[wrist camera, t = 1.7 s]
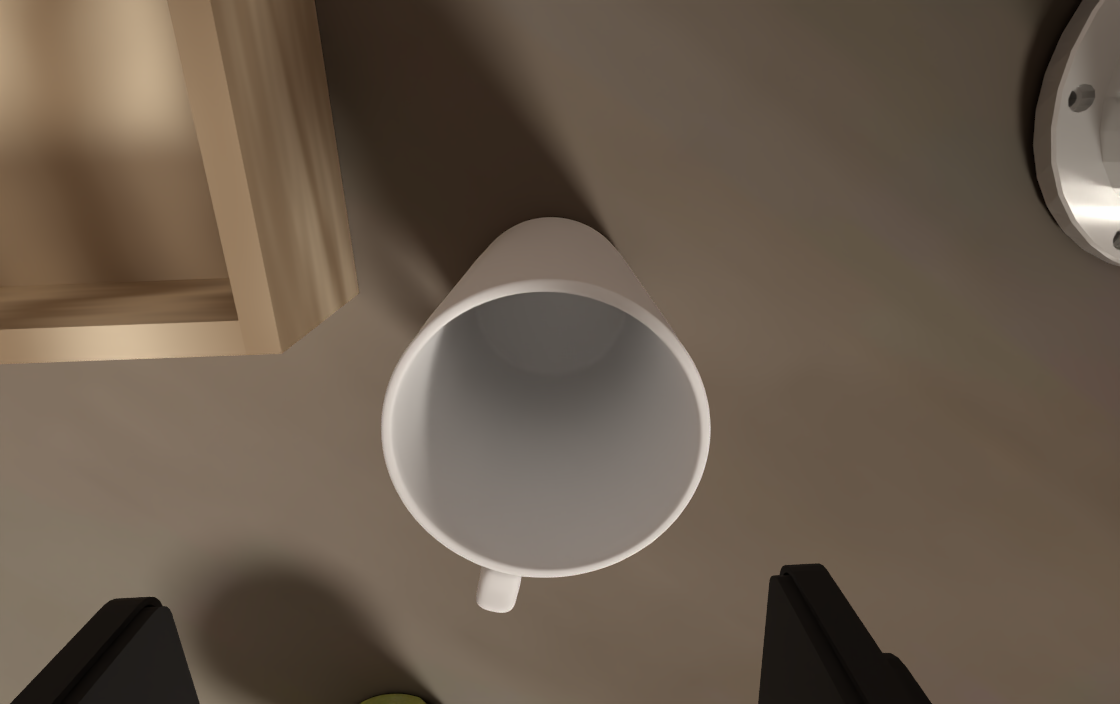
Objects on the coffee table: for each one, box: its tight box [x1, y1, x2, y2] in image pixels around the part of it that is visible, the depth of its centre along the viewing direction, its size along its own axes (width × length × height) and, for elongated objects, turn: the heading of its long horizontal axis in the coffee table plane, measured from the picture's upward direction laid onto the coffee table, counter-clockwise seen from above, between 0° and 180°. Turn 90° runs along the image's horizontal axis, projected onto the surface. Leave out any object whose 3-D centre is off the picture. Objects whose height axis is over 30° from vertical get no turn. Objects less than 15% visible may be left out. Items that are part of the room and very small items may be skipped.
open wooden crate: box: [0, 0, 359, 364], centre depth 18 cm, size 16×16×7 cm
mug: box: [381, 217, 710, 613], centre depth 18 cm, size 10×7×12 cm, turn 165°
